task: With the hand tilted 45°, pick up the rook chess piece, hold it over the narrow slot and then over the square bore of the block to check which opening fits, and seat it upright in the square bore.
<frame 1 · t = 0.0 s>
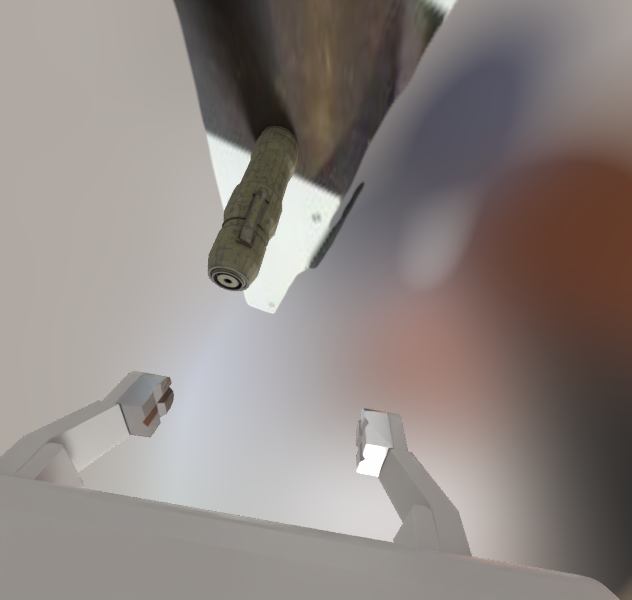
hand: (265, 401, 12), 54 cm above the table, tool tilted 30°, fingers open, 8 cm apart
thermos: (279, 147, 59), on the table
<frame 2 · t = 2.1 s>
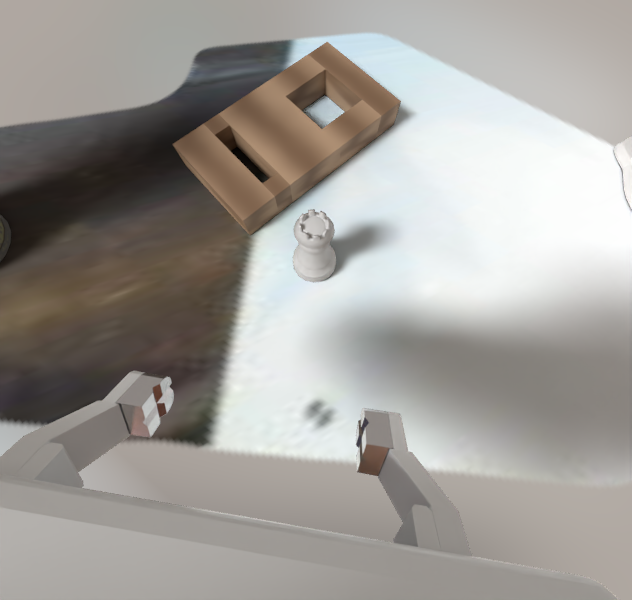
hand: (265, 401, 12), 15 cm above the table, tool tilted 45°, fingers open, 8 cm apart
rook chess piece: (314, 264, 29), on the table
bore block: (291, 144, 33), on the table
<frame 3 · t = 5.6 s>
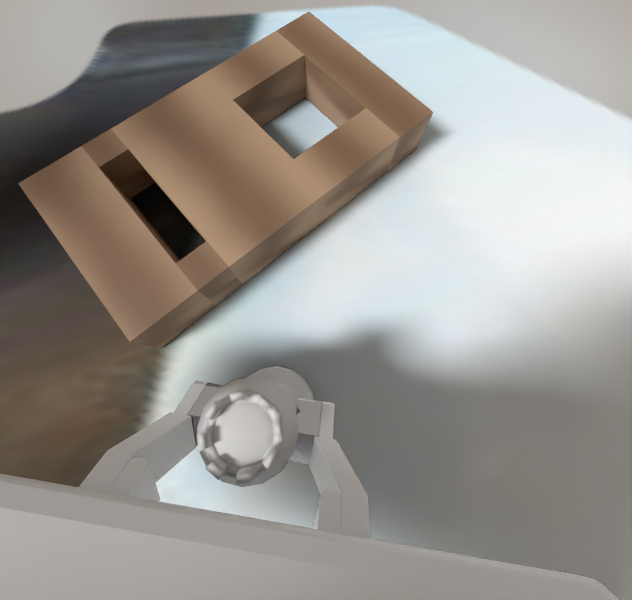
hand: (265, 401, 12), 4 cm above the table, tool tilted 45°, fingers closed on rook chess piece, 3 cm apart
rook chess piece: (276, 406, 16), on the table, touching gripper
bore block: (247, 179, 20), on the table
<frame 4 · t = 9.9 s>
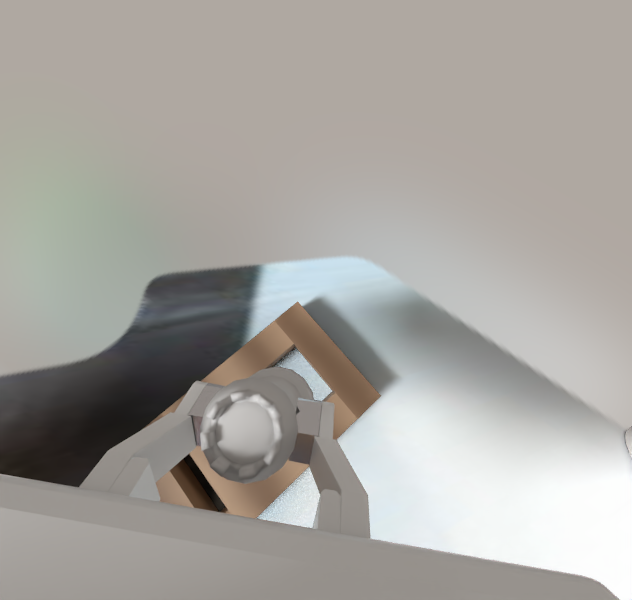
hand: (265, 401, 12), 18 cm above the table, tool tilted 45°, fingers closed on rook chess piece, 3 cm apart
rook chess piece: (276, 406, 16), point 13 cm above the table, touching gripper
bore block: (253, 422, 28), on the table
when the fingers open (6 cm above the table, at t = 14.2 s): rook chess piece drops 1 cm, resting in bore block.
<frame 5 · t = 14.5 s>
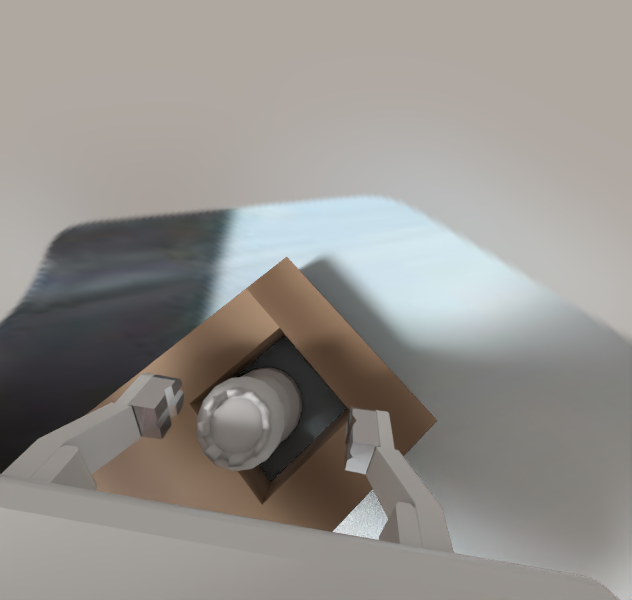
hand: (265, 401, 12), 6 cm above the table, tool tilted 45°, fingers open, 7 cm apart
rook chess piece: (266, 404, 17), resting in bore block
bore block: (211, 463, 16), on the table
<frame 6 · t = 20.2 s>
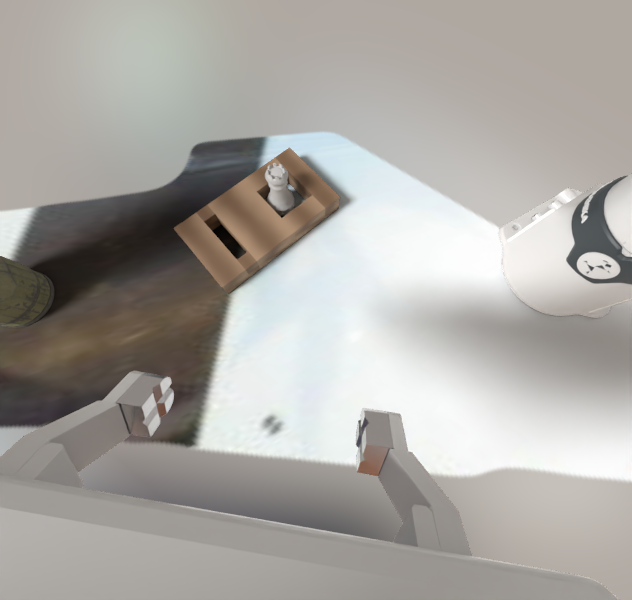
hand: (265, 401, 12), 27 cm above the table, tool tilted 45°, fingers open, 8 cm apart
rook chess piece: (281, 205, 46), resting in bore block
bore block: (261, 222, 45), on the table
thermos: (24, 299, 41), on the table
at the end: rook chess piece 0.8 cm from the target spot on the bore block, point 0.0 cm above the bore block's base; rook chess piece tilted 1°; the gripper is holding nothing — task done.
